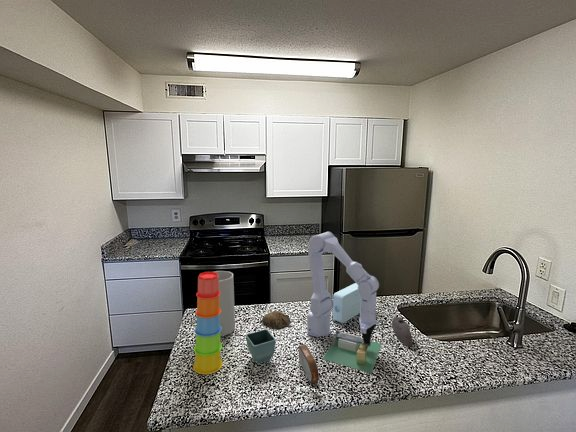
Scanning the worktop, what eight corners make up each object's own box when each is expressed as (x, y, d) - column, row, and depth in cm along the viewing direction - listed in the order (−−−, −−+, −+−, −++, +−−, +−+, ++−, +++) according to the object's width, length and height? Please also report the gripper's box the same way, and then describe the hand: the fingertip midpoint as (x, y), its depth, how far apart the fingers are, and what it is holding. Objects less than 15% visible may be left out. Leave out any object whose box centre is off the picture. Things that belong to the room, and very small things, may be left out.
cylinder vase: (240, 326, 139) (239, 273, 135) (222, 340, 128) (220, 283, 124) (219, 320, 145) (216, 269, 141) (200, 333, 134) (197, 278, 130)
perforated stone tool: (416, 350, 120) (417, 334, 119) (402, 350, 120) (403, 334, 119) (402, 330, 135) (403, 315, 134) (390, 330, 135) (391, 315, 134)
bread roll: (258, 321, 144) (258, 311, 143) (278, 313, 152) (278, 303, 151) (276, 332, 134) (275, 322, 133) (296, 323, 142) (296, 312, 142)
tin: (319, 388, 100) (320, 364, 99) (310, 389, 99) (310, 366, 98) (305, 360, 115) (305, 339, 113) (296, 361, 114) (296, 340, 112)
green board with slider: (322, 360, 114) (322, 349, 113) (338, 334, 132) (338, 325, 131) (371, 375, 106) (371, 363, 105) (381, 345, 124) (382, 335, 123)
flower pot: (254, 369, 110) (253, 346, 108) (245, 356, 117) (245, 334, 116) (276, 362, 114) (276, 339, 112) (267, 349, 121) (266, 328, 120)
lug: (356, 363, 111) (356, 351, 110) (360, 354, 116) (360, 343, 115) (364, 365, 110) (365, 354, 109) (368, 357, 115) (368, 346, 114)
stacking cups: (206, 354, 118) (202, 268, 113) (228, 361, 114) (224, 272, 108) (187, 370, 109) (181, 277, 104) (210, 378, 105) (205, 282, 99)
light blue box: (342, 325, 140) (343, 297, 138) (332, 320, 144) (333, 293, 142) (369, 308, 156) (370, 283, 154) (359, 304, 160) (360, 280, 158)
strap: (332, 339, 123) (332, 335, 123) (335, 334, 127) (335, 331, 126) (369, 347, 116) (369, 344, 116) (371, 342, 120) (372, 338, 120)
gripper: (374, 319, 108) (373, 354, 111) (382, 303, 121) (380, 335, 123) (355, 315, 112) (354, 349, 114) (364, 299, 124) (363, 331, 127)
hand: (366, 341), depth 119 cm, fingers closed, pressing on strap
